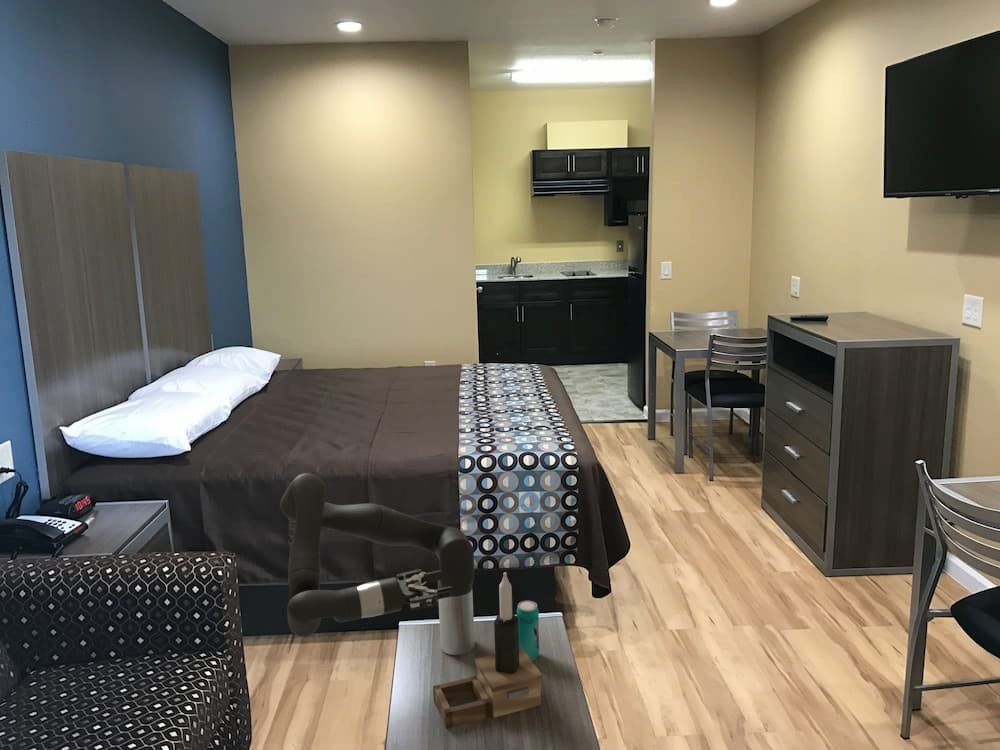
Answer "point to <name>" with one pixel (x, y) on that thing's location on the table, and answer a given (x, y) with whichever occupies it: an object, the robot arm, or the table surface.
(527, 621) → the beverage can
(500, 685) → the wooden box
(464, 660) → the table surface
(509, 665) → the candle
